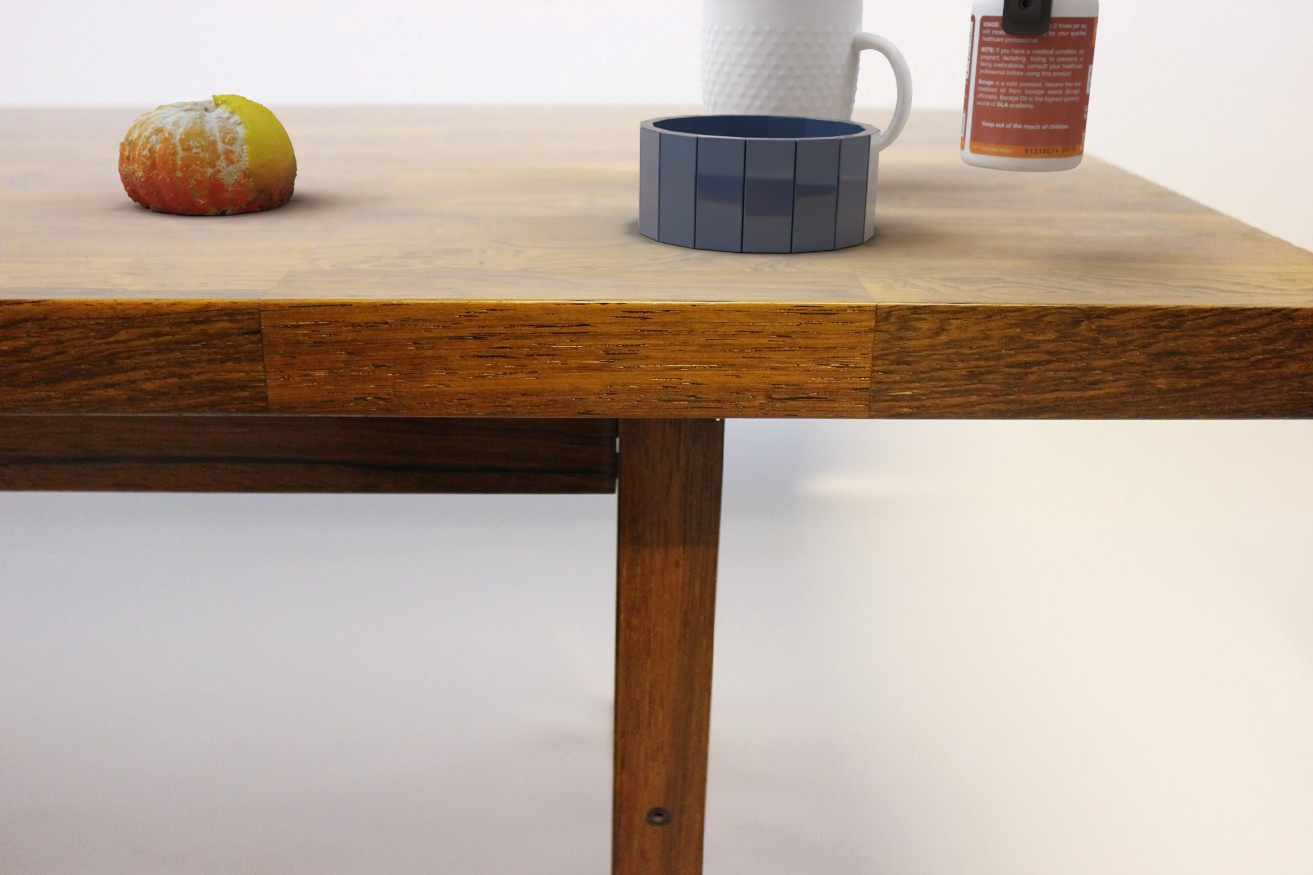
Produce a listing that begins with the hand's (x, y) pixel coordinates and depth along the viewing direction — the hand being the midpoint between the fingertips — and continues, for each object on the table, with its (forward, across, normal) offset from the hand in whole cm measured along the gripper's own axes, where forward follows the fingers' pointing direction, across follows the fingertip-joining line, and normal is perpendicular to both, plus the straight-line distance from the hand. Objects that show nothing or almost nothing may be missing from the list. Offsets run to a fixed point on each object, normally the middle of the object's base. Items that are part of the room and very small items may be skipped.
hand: (1033, 31), depth 68 cm
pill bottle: (+7, 0, 0) cm, 7 cm away
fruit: (+12, -3, +49) cm, 51 cm away
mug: (+12, +21, +18) cm, 30 cm away
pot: (+12, +3, +15) cm, 19 cm away
